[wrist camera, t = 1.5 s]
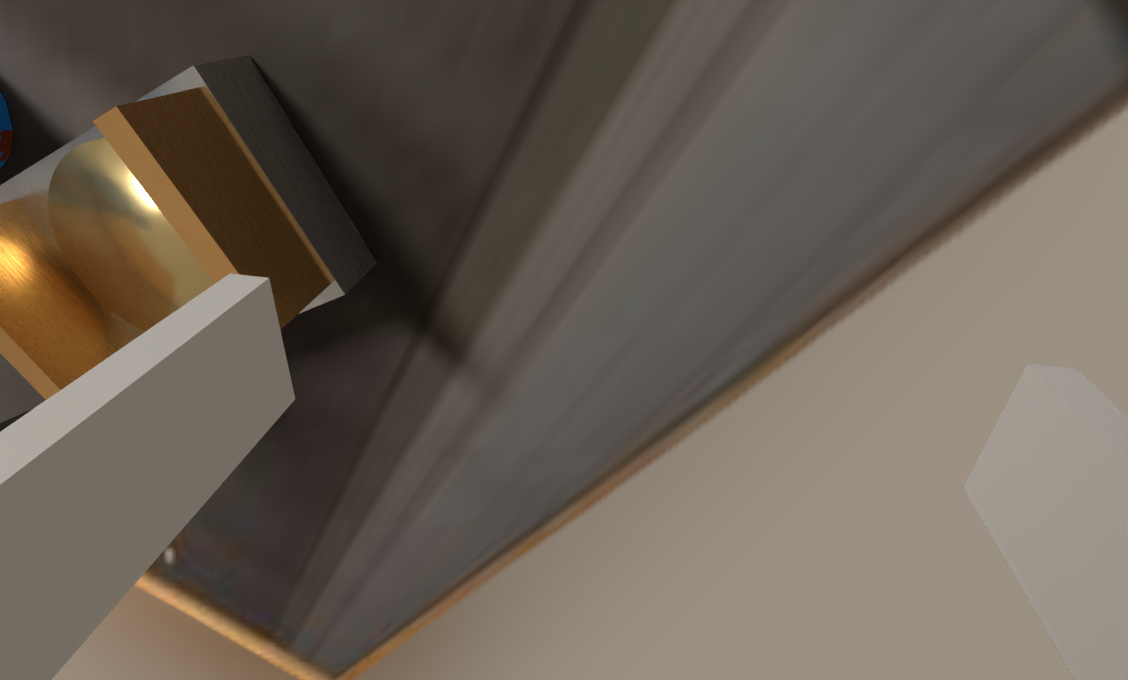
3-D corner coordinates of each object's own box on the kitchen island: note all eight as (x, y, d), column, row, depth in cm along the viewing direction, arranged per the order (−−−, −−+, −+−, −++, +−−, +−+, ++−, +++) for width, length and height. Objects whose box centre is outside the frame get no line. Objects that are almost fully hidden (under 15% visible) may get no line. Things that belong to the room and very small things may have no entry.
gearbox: (53, 173, 42) (-124, 229, 32) (249, 55, 36) (102, 82, 27) (189, 341, 48) (72, 430, 38) (377, 262, 42) (294, 344, 32)
